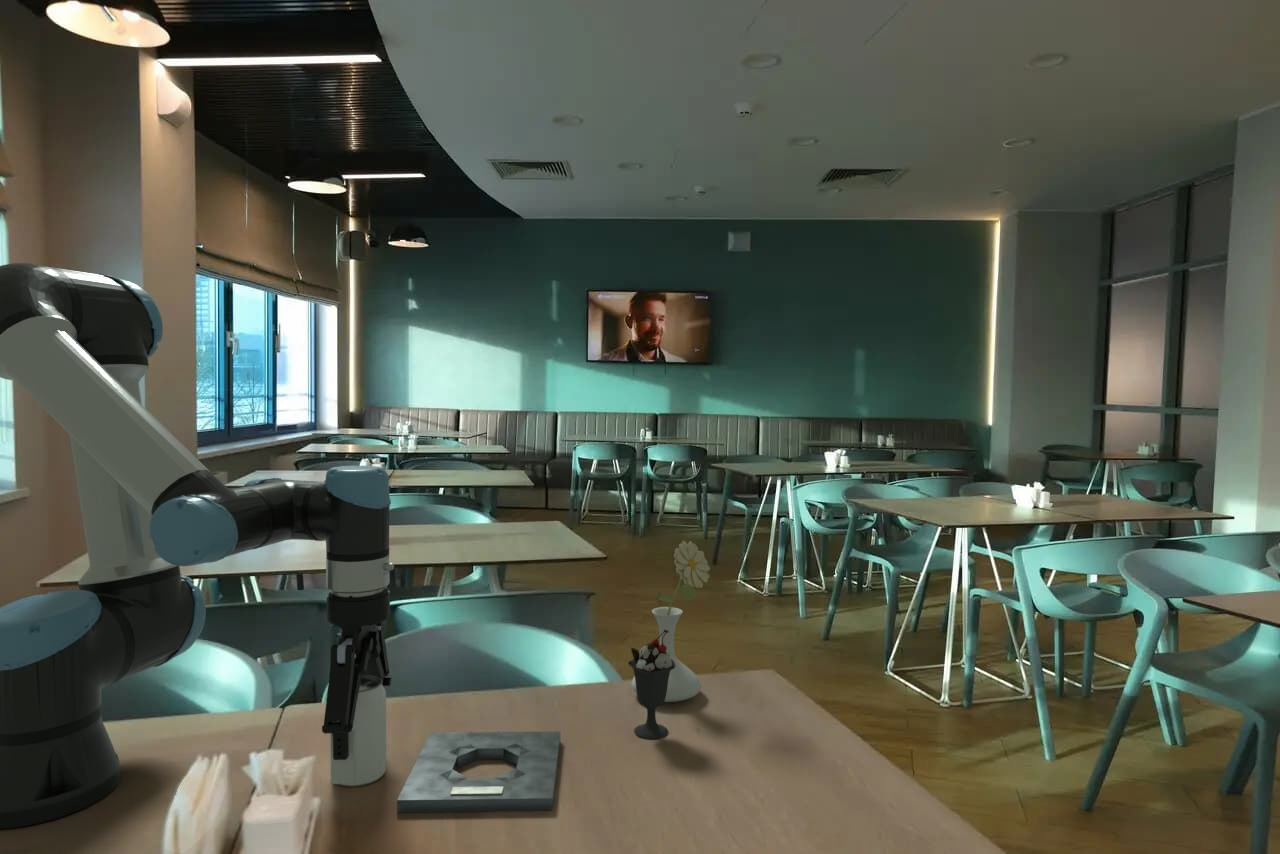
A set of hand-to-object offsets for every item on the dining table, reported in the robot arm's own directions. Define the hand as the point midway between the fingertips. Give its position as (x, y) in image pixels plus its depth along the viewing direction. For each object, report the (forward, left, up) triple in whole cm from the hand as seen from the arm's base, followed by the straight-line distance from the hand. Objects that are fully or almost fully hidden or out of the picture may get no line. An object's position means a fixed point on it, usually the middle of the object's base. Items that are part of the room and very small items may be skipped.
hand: (359, 758), depth 100 cm
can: (0, 0, -2) cm, 2 cm away
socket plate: (+16, 0, -2) cm, 16 cm away
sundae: (+38, +12, -2) cm, 40 cm away
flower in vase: (+42, +26, -2) cm, 49 cm away
